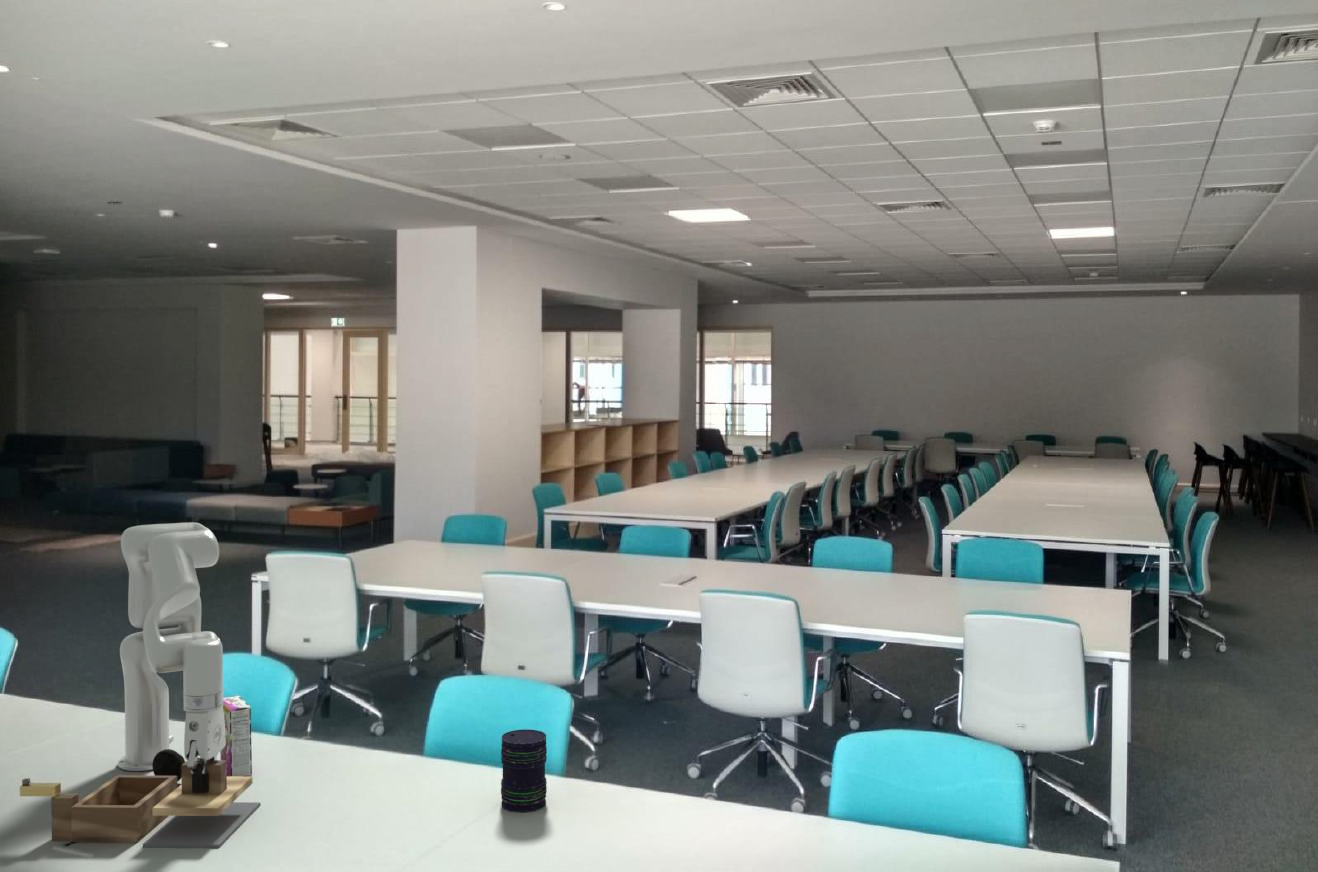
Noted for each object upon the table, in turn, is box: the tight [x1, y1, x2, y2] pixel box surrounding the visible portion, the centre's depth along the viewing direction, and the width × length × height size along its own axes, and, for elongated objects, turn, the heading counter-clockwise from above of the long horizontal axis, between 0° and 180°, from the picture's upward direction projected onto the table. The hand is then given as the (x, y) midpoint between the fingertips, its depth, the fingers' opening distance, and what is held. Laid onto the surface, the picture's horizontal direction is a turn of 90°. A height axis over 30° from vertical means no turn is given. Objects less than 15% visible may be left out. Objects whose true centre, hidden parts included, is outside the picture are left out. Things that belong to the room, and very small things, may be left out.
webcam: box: [152, 748, 186, 788], centre depth 242 cm, size 8×8×10 cm
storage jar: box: [500, 729, 548, 814], centre depth 238 cm, size 10×10×15 cm
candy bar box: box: [219, 695, 253, 777], centre depth 257 cm, size 11×5×16 cm, turn 34°
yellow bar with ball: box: [19, 777, 62, 798], centre depth 218 cm, size 2×7×3 cm, turn 90°
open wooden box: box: [50, 774, 178, 844], centre depth 225 cm, size 18×17×8 cm
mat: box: [142, 801, 262, 849], centre depth 225 cm, size 22×15×1 cm
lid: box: [152, 759, 253, 817], centre depth 225 cm, size 18×13×8 cm
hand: (204, 788), depth 225 cm, fingers closed on lid, 3 cm apart
